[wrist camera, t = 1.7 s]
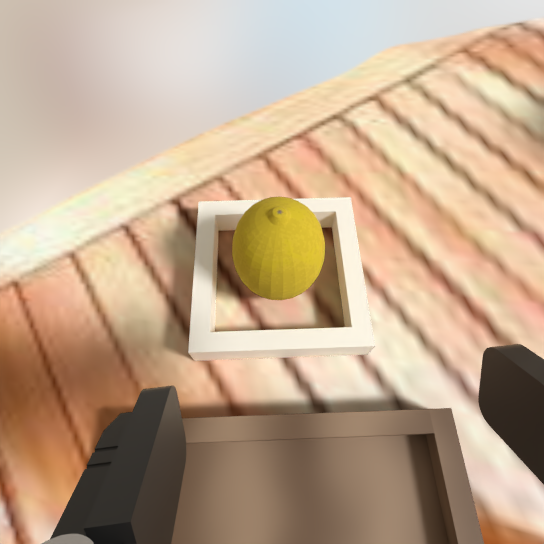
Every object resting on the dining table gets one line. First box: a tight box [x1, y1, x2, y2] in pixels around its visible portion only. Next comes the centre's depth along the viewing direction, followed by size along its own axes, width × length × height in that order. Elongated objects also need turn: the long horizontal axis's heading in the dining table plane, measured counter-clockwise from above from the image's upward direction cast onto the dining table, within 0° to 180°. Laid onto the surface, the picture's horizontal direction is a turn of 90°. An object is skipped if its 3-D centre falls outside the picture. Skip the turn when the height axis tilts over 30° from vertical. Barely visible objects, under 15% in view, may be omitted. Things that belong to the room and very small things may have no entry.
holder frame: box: [188, 197, 375, 361], centre depth 25 cm, size 11×11×2 cm
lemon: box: [232, 197, 325, 300], centre depth 22 cm, size 6×6×8 cm
